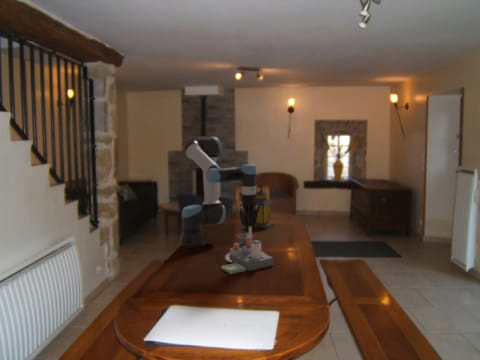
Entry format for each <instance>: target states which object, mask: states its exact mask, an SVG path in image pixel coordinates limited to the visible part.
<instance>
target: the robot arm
mask: <svg viewBox="0 0 480 360" xmlns="http://www.w3.org/2000/svg"><path fill="white" fill-rule="evenodd" d="M222 149H223V147H222V142H221V141H220V139H219V138H218V137H217V136H211V135H209V136H192V137H189V138H187V139H186V140H185V142H184V144H183V152H184V154H185V156H186V157H187V158H188V159H189V160H192V161H193V162H194V163H195V164H196V165H198V167H199V168H200V169H201V170H202V178H203V181H202V182H203V192H204V193H203V196H204V201H203V202H202V205H201V204H192V205H188V206H185V207H183V208H182V211H181V220H182V221H181V225H182V231H181V232H182V233H181V236H180V239H179V246H180V247H182V248H187V249H188V248H189V249H195V248H196V249H197V248H201V247H204V246H205V245H206V240H205V237H204V233H203V227H206V226H207V227H208V226H216V225H220V224H222V223H224V220H226V215H227V213H226V212H227V210H226V208H225V206H224V204H222V202H221V200H219V184H218V183H227V182H241V206H240V207H238V208H237V211H238V212H239V217H240V221H241V225H242V226H243V227H244V231H245V234H246V238H248V239H252V235H253V234H252V232H253V228H254V227H253V226H254V224H256V221H257V215H258V211H259V209H260V206H257V205H256V202H255V201H256V194H257V168H256V167H257V166H256V164H253V163H250V164H249V163H246V164H245V163H244V164H242V165H241V167H240V166H232V167H221V166H219V165H218V164H217V160H218V159H219V156H220V155H221V154H222V151H223V150H222ZM252 240H253V239H252Z"/></svg>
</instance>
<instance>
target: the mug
mask: <svg viewBox="0 0 480 360" xmlns="http://www.w3.org/2000/svg"><path fill="white" fill-rule="evenodd" d="M236 238H237V241H238V243H239V248H241V249H242V251H243V246H246V233H238V234H236ZM253 238H254V235H253V234H252V240H254V239H253Z"/></svg>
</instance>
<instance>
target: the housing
mask: <svg viewBox="0 0 480 360" xmlns="http://www.w3.org/2000/svg"><path fill="white" fill-rule="evenodd" d="M229 260H231V261H232V262H233V263H237V264H240V265H242V266H244V267H246V271H248V272H250V271H253V270H258V269H259V270H260V269H263V268H264V269H265V268H267V267H272V266H274V257H272V256H270V255H268V254H265V253H263V252H261V259H259V260H252V259H251V247H250V248H247V247H246V246H243V251H242V249H241V248H239V250H233V247H231V248H229V253H228V261H229ZM233 263H232V264H233Z"/></svg>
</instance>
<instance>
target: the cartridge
mask: <svg viewBox="0 0 480 360" xmlns="http://www.w3.org/2000/svg"><path fill="white" fill-rule="evenodd" d="M261 253H262V242H261V240H258V239H257V240H256V239H255V240H254V239H252V242H251V259H252V260H259V259H261Z"/></svg>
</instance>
